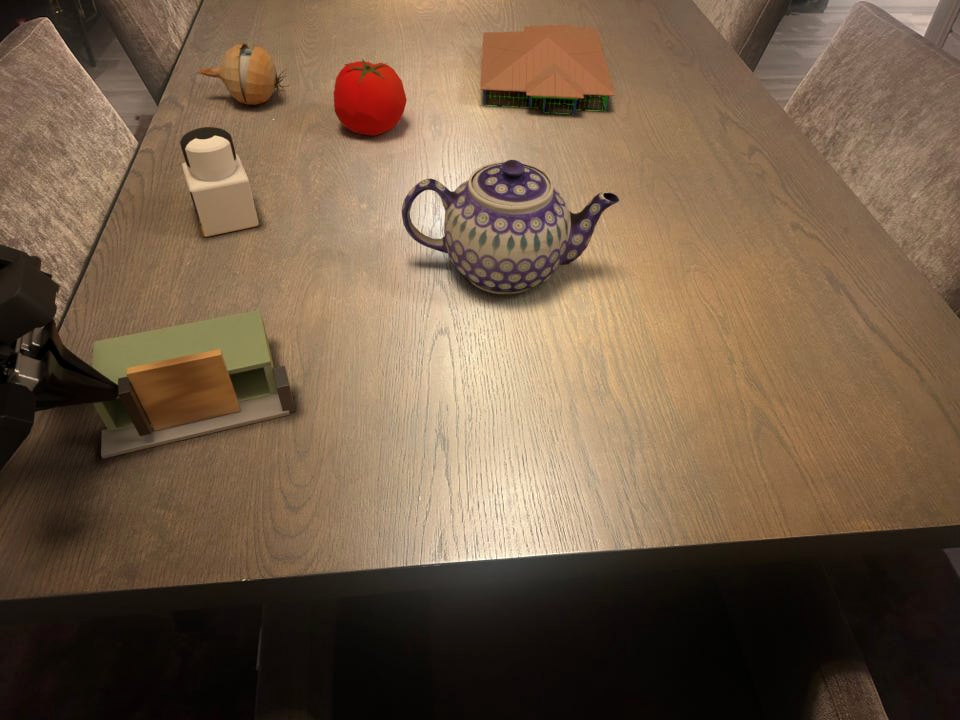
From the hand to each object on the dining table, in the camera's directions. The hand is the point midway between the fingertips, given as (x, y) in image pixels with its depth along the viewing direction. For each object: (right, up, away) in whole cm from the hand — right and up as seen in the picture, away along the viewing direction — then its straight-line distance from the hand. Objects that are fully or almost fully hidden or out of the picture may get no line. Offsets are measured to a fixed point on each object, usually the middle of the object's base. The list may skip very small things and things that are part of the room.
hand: (117, 393), depth 59 cm
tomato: (+14, +41, +50) cm, 66 cm away
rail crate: (+3, -1, +9) cm, 10 cm away
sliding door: (+4, -3, +6) cm, 8 cm away
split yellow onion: (-7, +47, +55) cm, 73 cm away
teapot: (+35, +14, +26) cm, 46 cm away
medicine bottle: (-2, +22, +31) cm, 38 cm away
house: (+44, +56, +67) cm, 97 cm away
